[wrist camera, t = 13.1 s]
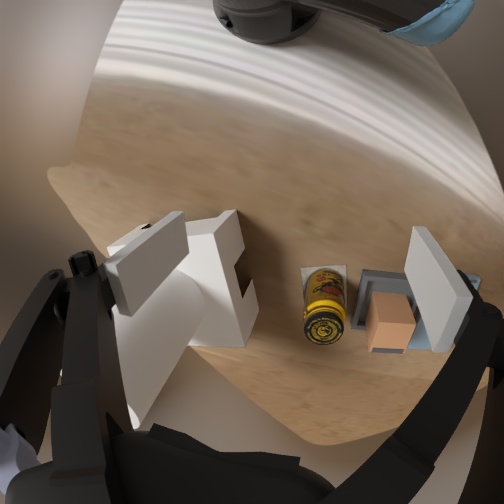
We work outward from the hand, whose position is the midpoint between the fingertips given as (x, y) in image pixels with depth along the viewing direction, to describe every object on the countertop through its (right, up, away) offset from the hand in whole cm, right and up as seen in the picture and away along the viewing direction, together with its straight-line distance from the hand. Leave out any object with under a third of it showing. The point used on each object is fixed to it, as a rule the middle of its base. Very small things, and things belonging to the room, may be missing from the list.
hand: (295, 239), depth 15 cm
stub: (+20, -10, +28) cm, 36 cm away
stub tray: (+20, -9, +29) cm, 36 cm away
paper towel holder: (-12, -3, +35) cm, 37 cm away
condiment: (+10, -7, +31) cm, 33 cm away
